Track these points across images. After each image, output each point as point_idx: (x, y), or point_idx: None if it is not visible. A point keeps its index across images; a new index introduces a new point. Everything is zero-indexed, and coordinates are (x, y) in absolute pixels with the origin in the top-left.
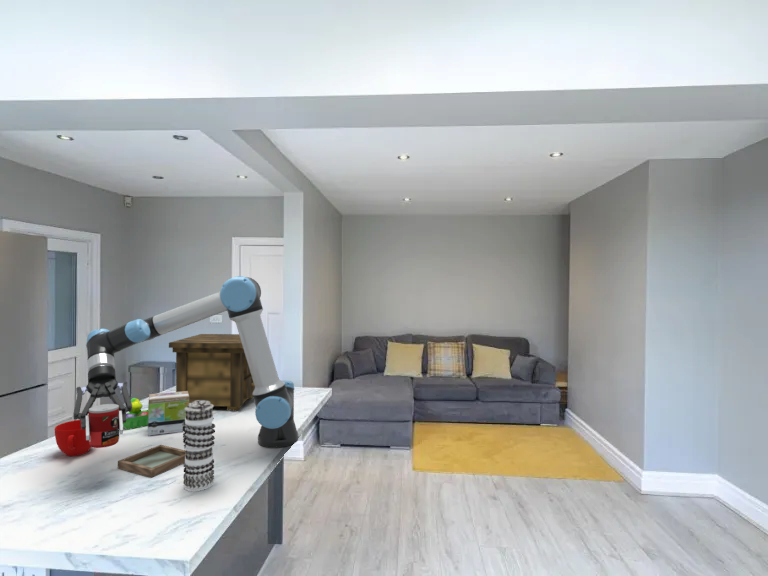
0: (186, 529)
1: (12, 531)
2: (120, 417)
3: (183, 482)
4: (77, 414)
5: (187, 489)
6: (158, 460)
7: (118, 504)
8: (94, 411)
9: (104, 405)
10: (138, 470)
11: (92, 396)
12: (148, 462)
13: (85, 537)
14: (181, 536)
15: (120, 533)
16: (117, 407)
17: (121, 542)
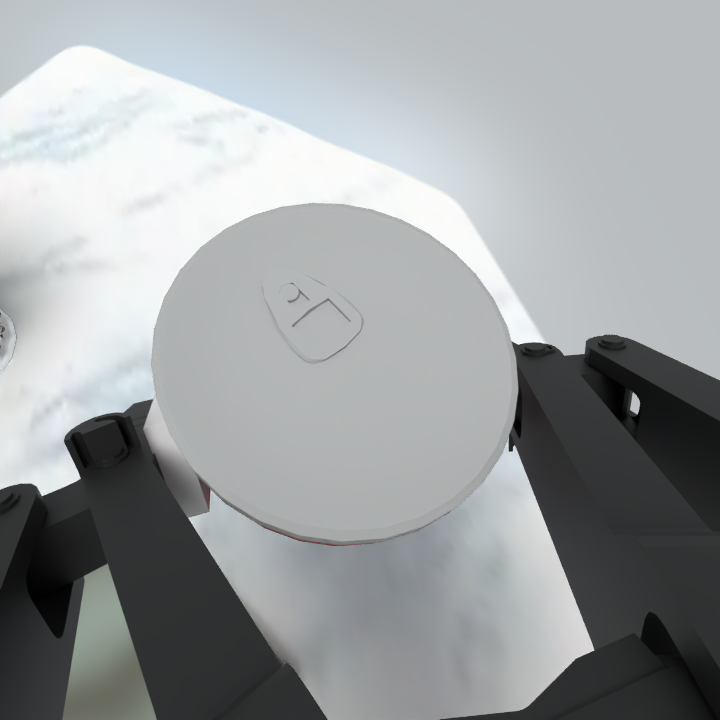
0: (60, 118)
1: (473, 244)
2: None
3: (2, 328)
4: (587, 343)
5: (5, 314)
6: (75, 706)
7: None
8: (406, 224)
9: (372, 492)
10: None
11: (665, 532)
12: (133, 686)
13: (292, 165)
14: (77, 99)
15: (215, 154)
16: (165, 299)
17: (209, 122)
